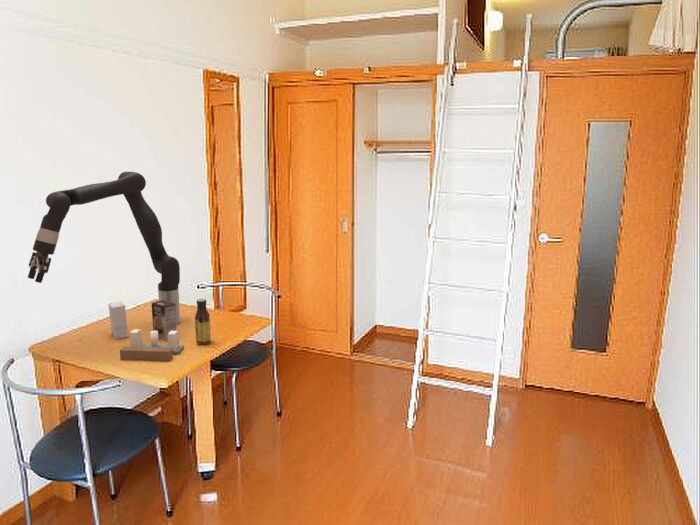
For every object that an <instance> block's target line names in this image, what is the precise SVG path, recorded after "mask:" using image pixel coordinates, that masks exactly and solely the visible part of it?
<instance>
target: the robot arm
mask: <svg viewBox="0 0 700 525" xmlns="http://www.w3.org/2000/svg"><path fill="white" fill-rule="evenodd" d="M146 185H147V180H146V179H145V177H144V175H142V174H141V173H139V172H136V171H122V172H121V173H120V174H119V176H118V178H117V179H114V180H112V181H107V182H106V181H105V182H98V183H92V184H86V185H82V186H79V187H75V188H71V189H64V190H59V191H54V192H51V193H50V194H48V195H47V196H46V198H45V203H46V206H48V208H49V210H48V211H47V213H46V214H45V215H43V217H42V220H41V223H40V225H39V230H38V231H37V233H36V237H35V241H34V244H33V245H32V246H33V247H32V250H33V252H32V253H31V257H30V260H29V263H28V267H29V271H28V275H27V278H28V279H30V280H34V281H35V282H36V283H39V284H41V283H43V279H44V276H45V274H48V272H49V269H50V265H51V262H52V258H51V257H49V255H52V256H53V255H54V254H55V250H56V248H57V245H58V244H57V243H58V240H59V236H60V232H61V229H62V228H61V227H62V224H63V222H64V220H65V218H66V216H67V214H68V213H69V211H70V208H71V206H76V205H77V206H78V205H86V204H89V203H93V202H96V201H100V200H103V199H107V198H111V197H115V196H121V195H123V196H124V199H125V200H126V202H127V203H128V206H129V208H130V211H131V213H132V215H133V218H134V220H135V222H136V226H137V228H138V229H139V232H140V234H141V237H142V240H143V241H144V243H145V245H146V247H147V250H148V252H149V253H148V254H149V256H150V259H151V262H152V264H153V268H154V270H155V271H156V272H157V273H159V274H161V275H160V276H161V277H160V278H161V279H160V280H161V281H160V282H159V283H158V284H157V296H158V301H162V300H164V301H168V302H171V303H175V304H176V326H178V325H179V324H180V323H181V314H180V311H181V310H180V308H181V307H180V292H179V291H180V290H179V284H180V281H181V279H180V278H181V277H180V276H181V269H180V262H179V260H178V259H177V258H176V257H173V256H170V255H168V253H167V251H166V249H165V247H164V244H163V230H162V226H161V224H160V221H159V219H158V217H157V215H156V213H155V211H154V210H153V209H152V208H151V206H150V205H149V204H148V202H147V201H146V200H145V198H144V196H143V193H142V192H143V191H144V189H145V188H146Z"/></svg>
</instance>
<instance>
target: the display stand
mask: <svg viewBox="0 0 700 525" xmlns="http://www.w3.org/2000/svg"><path fill="white" fill-rule="evenodd" d="M149 333H150V335H149V336H150V343H143V341H142V340H143V338H142V330H141V329H140V328H139V329H137V328H134V329H132V330H131V331H130V332H129V342H130V343H129V344H130V345H129V346H128V347H158V348H172V349H173V356H174V355H175V356H179V354H181V352H182V351H183V350H184V349H185V346H184V345H183V344H180V338H179V330H177V331H170V332H169V333H168V341H167V344H160V343H159V342H160V341H159V340H160V339H158V331H156V330H154V331H153V330H151V331H150V332H149Z"/></svg>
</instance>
